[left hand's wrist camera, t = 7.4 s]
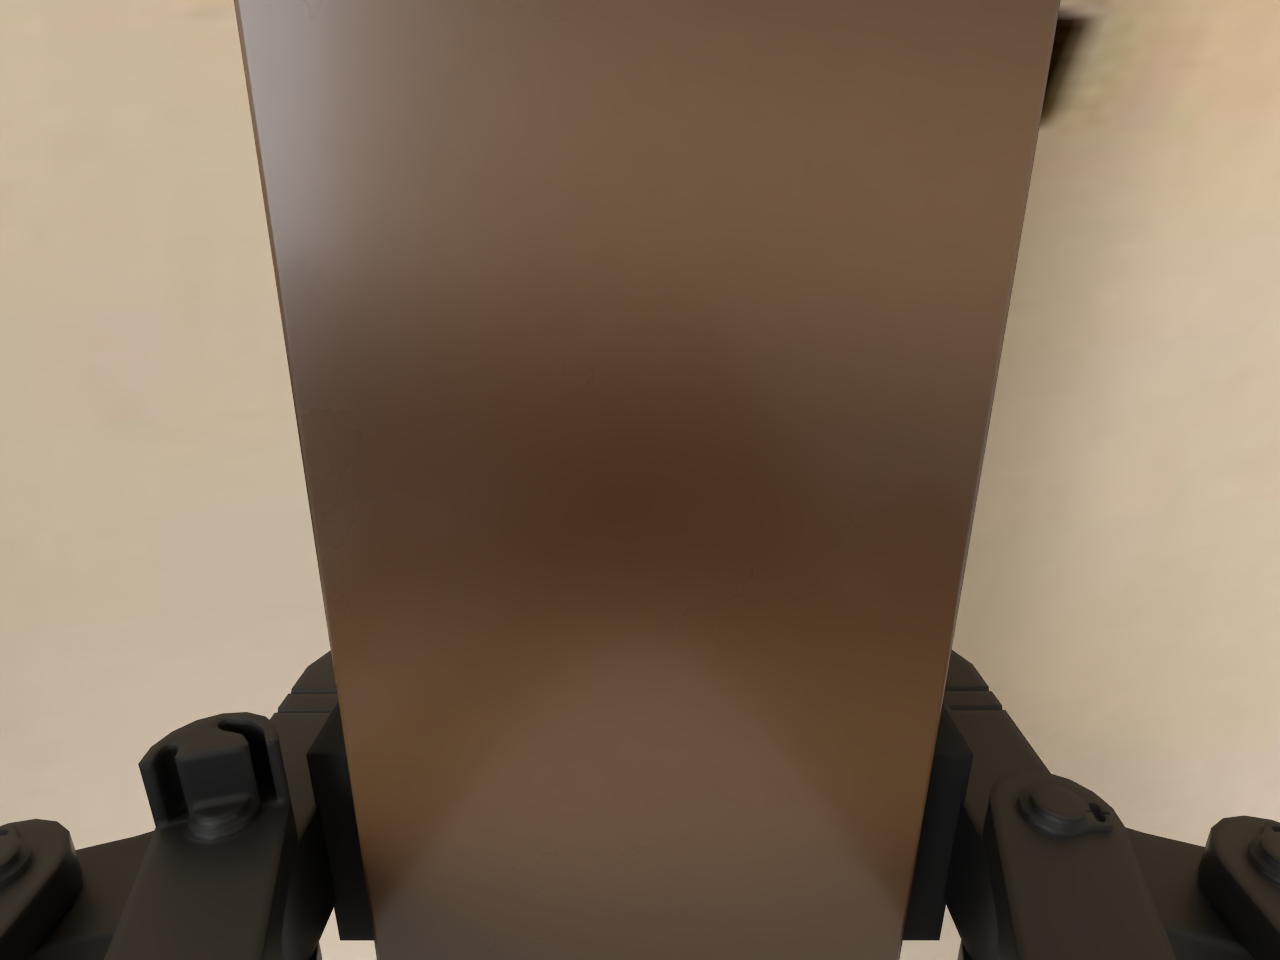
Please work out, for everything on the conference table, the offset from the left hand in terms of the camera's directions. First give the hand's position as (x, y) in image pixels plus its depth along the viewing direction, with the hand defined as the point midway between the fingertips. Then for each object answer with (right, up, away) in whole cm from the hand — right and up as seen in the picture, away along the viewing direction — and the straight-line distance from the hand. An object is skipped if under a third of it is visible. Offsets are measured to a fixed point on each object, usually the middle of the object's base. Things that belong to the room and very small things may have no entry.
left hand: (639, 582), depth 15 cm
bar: (0, +26, -9) cm, 27 cm away
